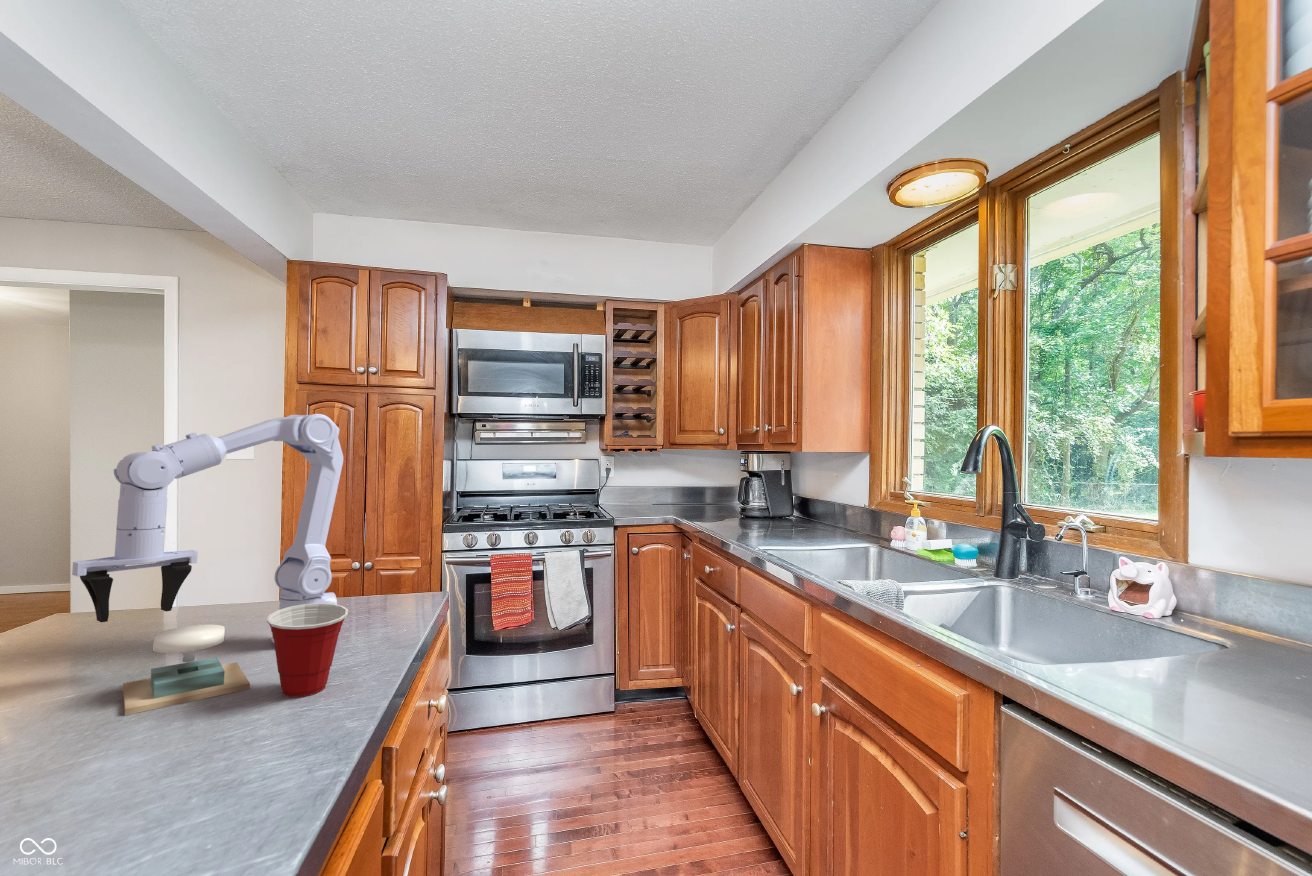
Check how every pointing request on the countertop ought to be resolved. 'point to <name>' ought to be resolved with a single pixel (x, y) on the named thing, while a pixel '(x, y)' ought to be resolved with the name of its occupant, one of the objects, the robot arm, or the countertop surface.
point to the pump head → (188, 640)
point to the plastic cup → (305, 645)
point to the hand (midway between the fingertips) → (135, 615)
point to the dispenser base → (147, 703)
